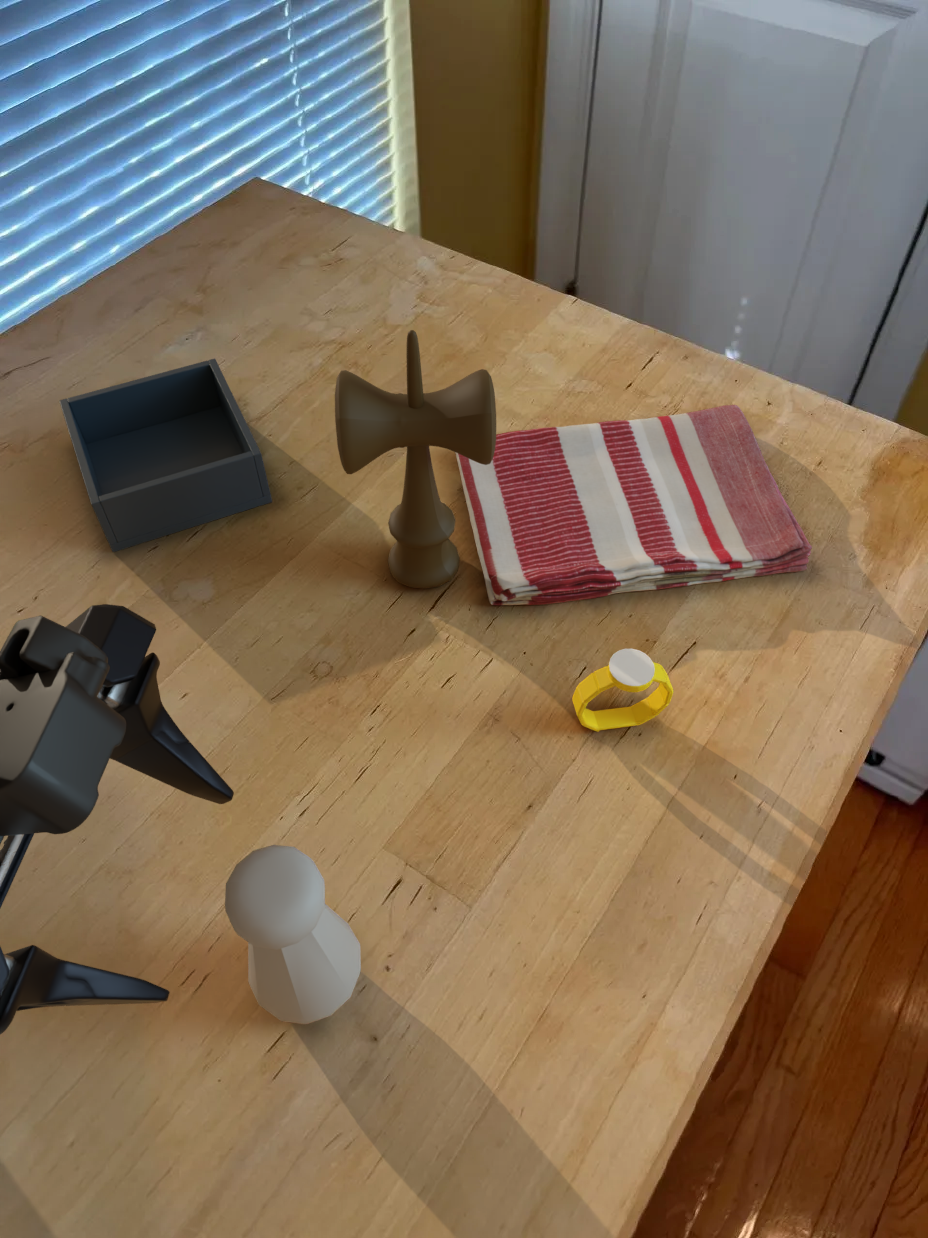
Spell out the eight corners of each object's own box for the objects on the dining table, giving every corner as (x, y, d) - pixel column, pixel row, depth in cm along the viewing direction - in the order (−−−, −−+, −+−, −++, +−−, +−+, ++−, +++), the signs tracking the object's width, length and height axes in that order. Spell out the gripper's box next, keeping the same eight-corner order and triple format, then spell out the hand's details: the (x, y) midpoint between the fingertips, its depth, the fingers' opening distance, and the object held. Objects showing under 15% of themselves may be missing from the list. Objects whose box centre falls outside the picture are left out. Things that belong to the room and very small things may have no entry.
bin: (112, 552, 69) (91, 504, 65) (80, 449, 75) (58, 400, 71) (272, 502, 72) (261, 453, 68) (227, 407, 79) (214, 357, 75)
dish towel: (812, 572, 67) (823, 547, 65) (491, 615, 65) (492, 591, 63) (732, 418, 78) (739, 393, 76) (452, 451, 75) (452, 426, 73)
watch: (576, 746, 59) (586, 694, 54) (565, 709, 60) (573, 656, 56) (668, 731, 59) (685, 678, 55) (654, 694, 61) (670, 640, 56)
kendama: (357, 539, 69) (326, 301, 54) (487, 533, 70) (494, 295, 54) (356, 602, 66) (322, 367, 50) (493, 596, 66) (503, 360, 50)
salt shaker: (319, 903, 53) (284, 796, 42) (387, 978, 50) (367, 883, 40) (234, 978, 50) (174, 884, 40) (301, 1060, 48) (256, 983, 37)
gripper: (-277, 966, 24) (236, 1119, 31) (34, 459, 35) (355, 663, 43) (-346, 1009, 30) (88, 1125, 38) (-68, 574, 42) (223, 732, 50)
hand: (198, 891), depth 42 cm, fingers open, 9 cm apart
